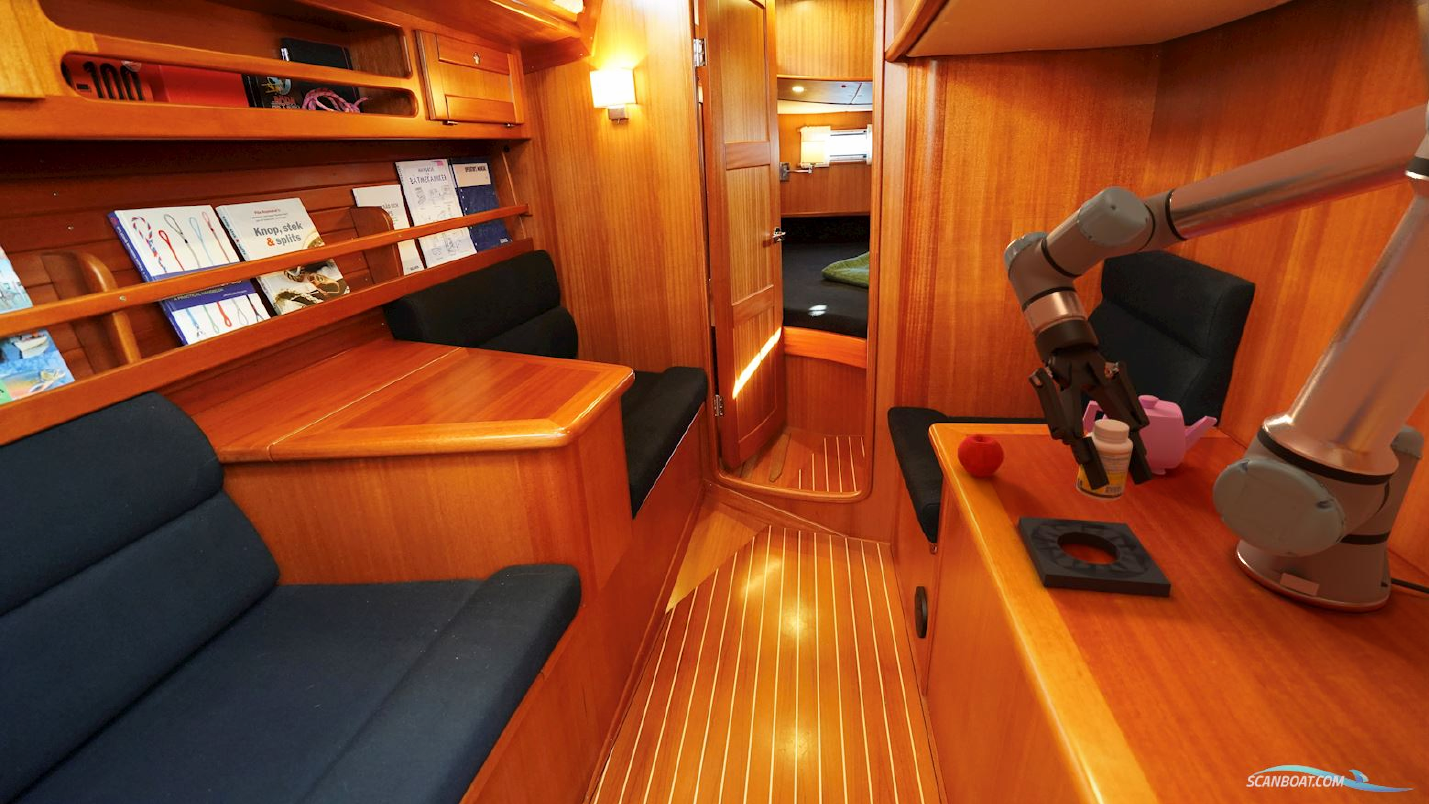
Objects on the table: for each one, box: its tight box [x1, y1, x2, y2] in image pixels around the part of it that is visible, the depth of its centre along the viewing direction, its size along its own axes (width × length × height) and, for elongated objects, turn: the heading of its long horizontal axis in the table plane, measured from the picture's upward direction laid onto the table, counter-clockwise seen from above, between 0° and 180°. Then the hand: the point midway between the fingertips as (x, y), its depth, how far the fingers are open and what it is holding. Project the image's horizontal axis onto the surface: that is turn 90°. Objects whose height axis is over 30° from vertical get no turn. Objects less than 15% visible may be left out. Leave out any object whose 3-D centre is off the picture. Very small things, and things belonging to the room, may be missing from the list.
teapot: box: [1083, 394, 1218, 476], centre depth 116 cm, size 20×12×13 cm, turn 62°
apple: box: [957, 433, 1005, 478], centre depth 115 cm, size 8×8×7 cm
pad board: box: [1017, 515, 1172, 598], centre depth 91 cm, size 15×15×2 cm
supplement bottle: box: [1076, 418, 1133, 502], centre depth 86 cm, size 6×6×10 cm
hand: (1122, 484), depth 83 cm, fingers closed on supplement bottle, 6 cm apart
